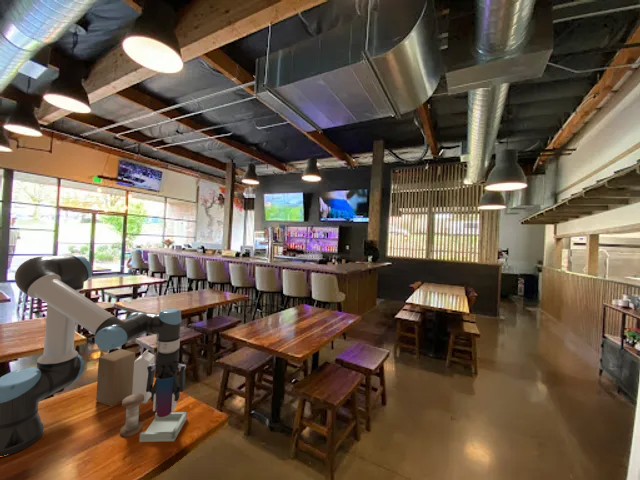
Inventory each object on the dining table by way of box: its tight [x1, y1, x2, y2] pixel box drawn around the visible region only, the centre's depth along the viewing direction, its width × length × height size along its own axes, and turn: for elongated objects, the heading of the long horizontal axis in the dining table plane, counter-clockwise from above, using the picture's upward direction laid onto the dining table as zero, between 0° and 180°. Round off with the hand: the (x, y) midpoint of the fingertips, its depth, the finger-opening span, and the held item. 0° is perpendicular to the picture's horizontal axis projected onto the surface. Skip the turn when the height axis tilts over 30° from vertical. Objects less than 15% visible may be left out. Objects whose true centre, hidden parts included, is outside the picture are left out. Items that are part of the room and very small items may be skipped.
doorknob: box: [119, 394, 144, 438], centre depth 102 cm, size 7×7×12 cm
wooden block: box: [95, 348, 136, 407], centre depth 119 cm, size 10×10×20 cm
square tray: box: [139, 411, 188, 443], centre depth 103 cm, size 12×12×3 cm
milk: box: [132, 348, 155, 404], centre depth 120 cm, size 6×6×22 cm
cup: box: [156, 371, 178, 417], centre depth 103 cm, size 7×7×15 cm
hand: (164, 408), depth 103 cm, fingers closed on cup, 6 cm apart
